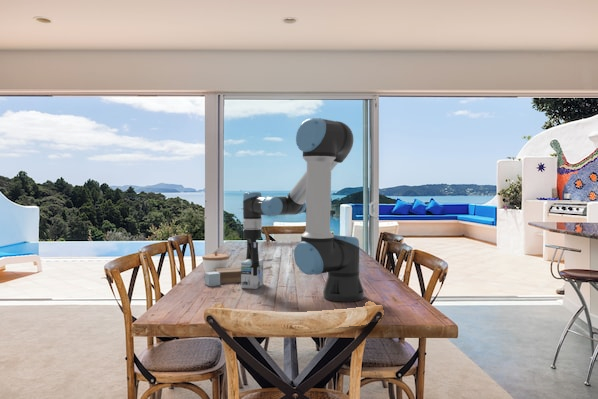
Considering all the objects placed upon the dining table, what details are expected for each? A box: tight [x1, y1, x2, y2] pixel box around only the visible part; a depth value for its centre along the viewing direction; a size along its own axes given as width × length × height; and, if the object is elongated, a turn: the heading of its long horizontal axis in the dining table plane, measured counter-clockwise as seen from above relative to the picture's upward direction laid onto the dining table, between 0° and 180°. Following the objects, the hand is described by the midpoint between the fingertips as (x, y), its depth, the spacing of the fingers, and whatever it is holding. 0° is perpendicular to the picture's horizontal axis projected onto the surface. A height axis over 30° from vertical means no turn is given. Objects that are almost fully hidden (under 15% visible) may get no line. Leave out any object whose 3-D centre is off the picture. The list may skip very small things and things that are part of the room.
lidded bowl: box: [202, 251, 230, 273], centre depth 211 cm, size 13×13×11 cm
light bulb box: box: [240, 258, 264, 290], centre depth 185 cm, size 11×7×11 cm, turn 168°
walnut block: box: [215, 266, 241, 284], centre depth 199 cm, size 12×12×5 cm
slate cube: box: [204, 272, 221, 287], centre depth 189 cm, size 5×5×5 cm
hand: (252, 280), depth 185 cm, fingers closed on light bulb box, 12 cm apart
